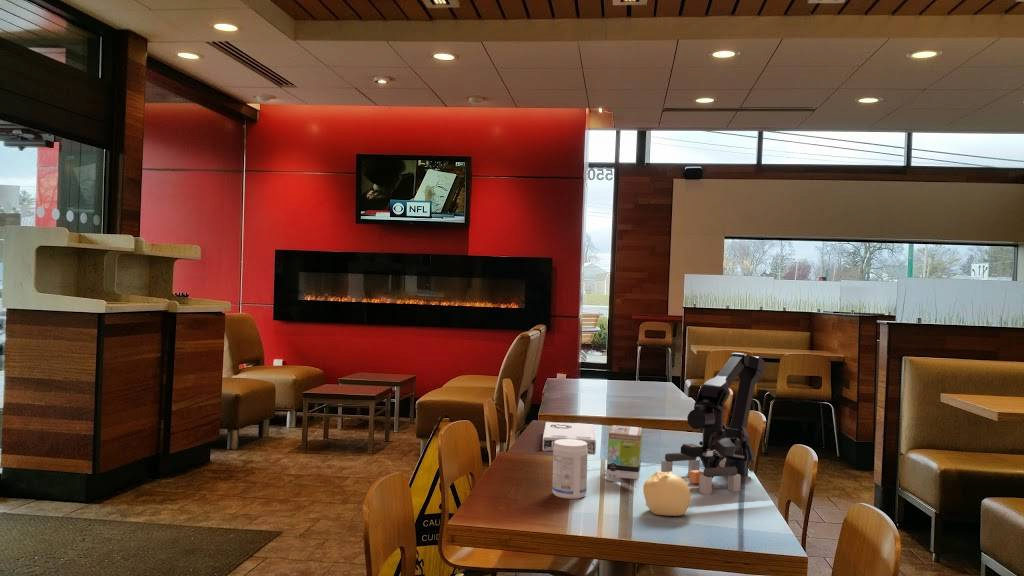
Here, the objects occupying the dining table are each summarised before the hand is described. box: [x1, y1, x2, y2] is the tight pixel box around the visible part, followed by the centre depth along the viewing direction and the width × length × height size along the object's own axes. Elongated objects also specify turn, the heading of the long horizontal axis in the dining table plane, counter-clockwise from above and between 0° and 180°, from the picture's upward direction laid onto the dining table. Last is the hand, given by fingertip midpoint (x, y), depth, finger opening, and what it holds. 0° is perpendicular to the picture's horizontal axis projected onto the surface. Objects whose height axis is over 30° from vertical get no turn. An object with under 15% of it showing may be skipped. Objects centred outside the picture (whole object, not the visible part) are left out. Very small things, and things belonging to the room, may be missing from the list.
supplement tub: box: [551, 439, 588, 500], centre depth 204 cm, size 10×10×15 cm
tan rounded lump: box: [642, 470, 691, 517], centre depth 190 cm, size 12×12×11 cm
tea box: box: [605, 424, 643, 483], centre depth 226 cm, size 15×10×15 cm, turn 168°
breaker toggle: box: [688, 469, 704, 483], centre depth 216 cm, size 3×3×3 cm
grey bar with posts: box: [698, 466, 742, 495], centre depth 208 cm, size 12×2×8 cm, turn 112°
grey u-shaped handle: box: [660, 452, 701, 474], centre depth 225 cm, size 12×2×8 cm, turn 112°
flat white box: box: [542, 421, 597, 454], centre depth 275 cm, size 19×33×5 cm, turn 175°
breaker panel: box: [680, 476, 727, 491], centre depth 215 cm, size 16×13×2 cm
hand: (710, 478), depth 218 cm, fingers closed
